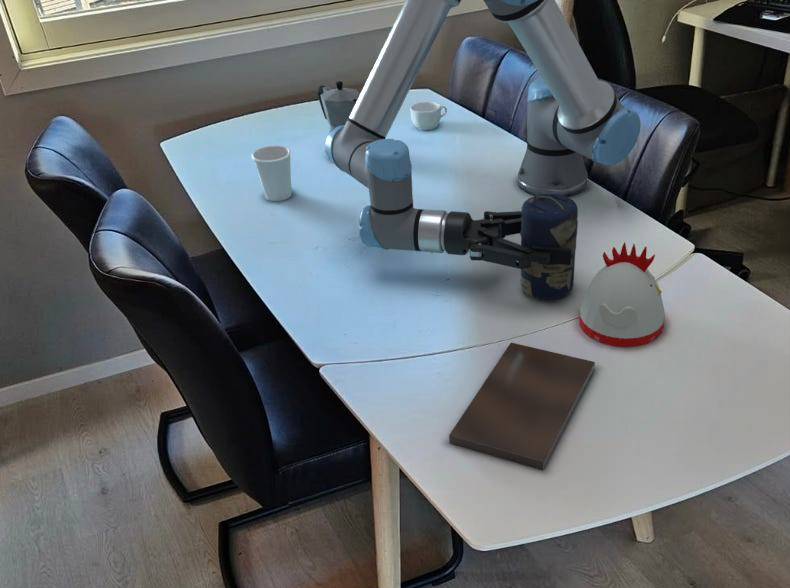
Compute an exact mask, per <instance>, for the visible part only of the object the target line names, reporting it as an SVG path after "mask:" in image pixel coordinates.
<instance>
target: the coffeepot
mask: <svg viewBox="0 0 790 588" xmlns="http://www.w3.org/2000/svg"><path fill="white" fill-rule="evenodd" d="M335 85H336V88H332V87H330V86H326V85H323V84H321V85H319V86H318V88H317V90H316V96H317V98H318V102H319V104H320V108H321V111H322V114H323V117H324V119H325V120H326V121H327V123H328V125H329V131H328V134H329V133H330V132H331V131H333V130H334V129H335V128H336V127H338V126H344V125H345V124H346V122H347V120H348V118H349V116H350V114H351V112H352V110H353V108H354V106H355V104H356V102H357V100H358V98H359V95H360V93H361V91H360V92H359V90H358V89H357V88H350V87H343V85H344V83H343V81H340V80H338V81H336V82H335Z"/></svg>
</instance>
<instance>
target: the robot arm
mask: <svg viewBox="0 0 790 588" xmlns="http://www.w3.org/2000/svg"><path fill="white" fill-rule="evenodd" d="M461 1H462V0H404V2H403V4H402V7H401V9H400V10H399V12H398V15H397V16H396V19H395V21H394V23H393V25H392V27H391V29H390V31H389V33H388V36H387V38H386V39H385V42H384V44H383V46H382V48H381V50H380V52H379V54H378V56H377V58H376V60H375V62H374V65H373V67H372V69H371V71H370V73H369V74H368V77H367V78H366V81H365V83H364V85H363V87H362V89H361V91H360V95H359V98H358V100H357V102H356V104H355V106H354V108H353V110H352V112H351V114H350V116H349V118H348V120H347V122H346V124H345V125H344V126H338V127H336V128H335V129H334V130H333V131H331V132H330V133H329V132H328V135H327V136H326V139H325V142H324V150H325V151H324V152H325V154H326V156H327V159H328V160H330V162H331V163H332V164H334V165H335V167H337V168H338V169H339V171H341V172H343V173H346V174H347V175H348V176H350V177H352V178H353V179H354V180H356V181H357V182H358V183H360V184H361V185H363V186H364V187H365V188H366V189H368V192H369V193H368V194H369V201H370V202H369V203H370V205H366V206H365V207H363V208H362V210H361V212H360V215H359V220H358V223H359V227H358V234H359V239H360V241H361V242H362V244H363V245H364V246H365V247H368V248H376V249H380V250H381V249H382V250H386V251H388V250H395V251H411V252H412V251H413V252H423V253H424V252H425V253H430V254H444V253H446V254H447V255H457V256H466V255H467V254H468V253H469V258H470V260H471V261H482V262H487V263H492V264H496V265H500V266H504V267H509V268H514V269H519V270H521V269H525V268H530V267H531V262H539V263H552V264H564V265H571V252H572V249H570V248H557V247H544V246H532V251H531V249H530V248H527V247H524V246H522V245H521V244H520V243H519V244H518V243H517V242H514V241H511V240H508V239H505V238H506V237H507V236H513V235H518V234H519V235H520V233H521V223H522V216H521V211H522V210H519V211H518V210H517V211H497V212H496V211H489V210H487V211H483V218H482V219H475V220H474V219H473V218H472V216H471V213H469V212H467V211H455V210H453V211H452V210H451V211H450V212H447V210H441V209H423V208H422V209H421V208H416V207H414V199H413V198H414V197H413V176H412V169H413V167H412V166H413V164H412V161H411V155H410V149H409V146H408V144H406V143H405V142H404V141H403V140H400V139H394V138H387V137H388V134H389V132H390V130H391V128H392V126H393V124H394V122H395V120H396V118H397V116H398V114H399V112H400V110H401V108H402V106H403V104H404V102H405V100H406V98H407V95H409V92H410V90H411V88H412V86H413V84H414V82H415V80H416V78H417V76H418V74H419V72H420V70H421V68H422V66H423V64H424V62H425V60H426V58H427V56H428V54H429V52H430V50H431V48H432V46H433V44H434V43H435V40H436V38H437V36H438V34H439V32H440V30H441V28H442V26H443V24H444V22H445V20H446V18H447V16H448V15H449V12H450V10H451V9H452V8H456V7H458V6H459V5H460V3H461ZM483 2H484V4H485V5H486V7H487V9H488V10H489V12H490V13H491V15H492V16H493V18H494V19H495V20H496V21H498V22H500V23H507V24H508V25H509V27H510V29H511V30H512V31H513V33H514V35H515V36H516V38H517V39H518V41H519V43H520V44H521V46H522V48H523V49H524V51H525V53H526V54H527V55H528V58H529V59H530V60H531V62H532V64H533V66H534V67H535V69H536V70H537V72H538V73H539V75H540V77H539V78H537V79H535V80H533V81H532V82H531V83H530V84H529V86H528V92H527V99H526V107H527V108H526V110H527V111H526V114H527V115H526V151H525V153H524V156H523V159H522V162H521V163H520V168H519V169H518V173H517V184H518V187H520V189H521V190H523V191H524V192H526V193H528V194H530V195H533V196H536V195H540V194H559V195H563V196H567V197H569V196H573V195H575V194H578V193H580V192H582V191H583V190H584V189H585V188H586V187H587V186H588V178H589V173H588V170H587V168H586V164H585V159H584V157H586V158H587V159H589V160H592V161H593V162H594V163H596V164H601V165H604V166H608V167H609V166H613V165H617V164H619V163H620V162H622V161H623V160H624V159H626V158H627V157H628V156H629V154H631V152H632V150H633V149H634V147H635V146H636V144H637V142H638V138H639V135H640V132H641V124H642V123H641V118H640V116H639V114H638V112H637V111H636V110H634V109H633V108H632V107H630V106H625V105H624V104H622V103H621V101H620V100H619V98H618V96H617V94H616V91H615V90H614V89H613V87H612V85H611V84H610V83H608V82H607V81H604V80H599V79H598V76H597V74H596V73H595V71H594V69H593V68H592V65H591V64H590V62H589V60H588V57H587V56H586V55H585V53H584V50H583V48H582V47H581V45H580V43H579V41H578V40H577V38H576V36H575V34H574V32H573V30H572V29H571V26H570V25H569V23H568V21H567V19H566V18H565V16H564V13H563V12H562V10H561V8H560V7H559V4H558V3H557V1H556V0H483ZM578 221H579V220H578V219H577V227H579V226H578V224H579V222H578Z"/></svg>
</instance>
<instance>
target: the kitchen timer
mask: <svg viewBox="0 0 790 588" xmlns="http://www.w3.org/2000/svg"><path fill="white" fill-rule="evenodd" d="M626 244H627V243H626V242H625V241H624V242H623V243H622V246H621V249H620V253H619V252H618V251H617V248H616V247H615V246H613V247H612V249H611V253H612V259H610V257H608V255H607V253H606V252H605V251H603V254H602V258H603V262H604V264H605V265H604V266H603V267H602V268H601V269H600V270H599V271H597V273H596V274H595V275H594V277H592V279H591V281H590V283H589V284H588V287H587V290H586V291H585V293H584V297H583V298H582V301H581V304H580V307H579V317H578V321H579V327H580V328H581V330H582V331H583V333H584V334H586V335H587V336H588V337H589V338H591V339H592V340H595V341H597V342H598V343H601V344H604V345H609V346H613V347H623V348H629V347H639V346H643V345H646V344H650V343H651V342H653V341H654V340H656V339H657V338H658V337H660V335H661V334H662V332H663V329H664V325H665V307H664V302H663V298H662V292H663V291H662V290H661V289H660V286H659V284H658V282H657V279H656V278H655V277H654V275H653V274H652V272H651V271H650V270H649V269H648V268H649V267H650V266H651V264H653V262H654V260H655V258H656V254H655V253H654V254H653V255H652V256H651V257H650V258H647V252H648V251H647V250H648V247H647V245H646V246H644V247H643V249H642V252H641V254H640V255H639V256H638V255H637V250H636V249H637V248H636V244H635V243H633V244H632V247H631V250H630V253H629V254H628V249H627V245H626Z"/></svg>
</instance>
